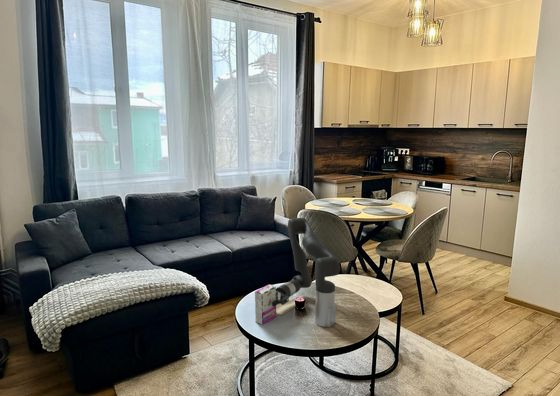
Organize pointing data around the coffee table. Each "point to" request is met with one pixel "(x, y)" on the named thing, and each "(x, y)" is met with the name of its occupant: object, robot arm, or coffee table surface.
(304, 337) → the coffee table surface
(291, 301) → the beige board
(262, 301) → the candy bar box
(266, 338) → the coffee table surface
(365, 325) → the coffee table surface
